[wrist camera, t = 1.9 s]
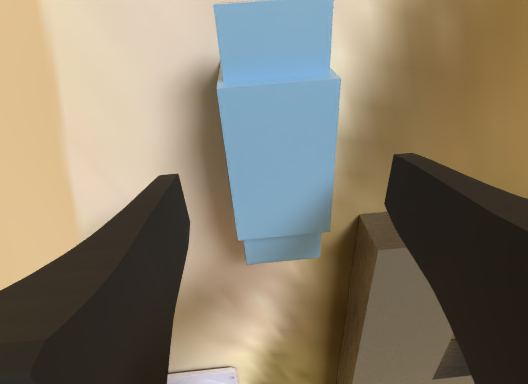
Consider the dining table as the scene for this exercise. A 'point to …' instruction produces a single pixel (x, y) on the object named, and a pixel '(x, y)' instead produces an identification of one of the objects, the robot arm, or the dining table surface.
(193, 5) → the dining table surface
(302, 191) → the servo
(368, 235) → the chassis
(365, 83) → the dining table surface
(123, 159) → the dining table surface
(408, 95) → the dining table surface
